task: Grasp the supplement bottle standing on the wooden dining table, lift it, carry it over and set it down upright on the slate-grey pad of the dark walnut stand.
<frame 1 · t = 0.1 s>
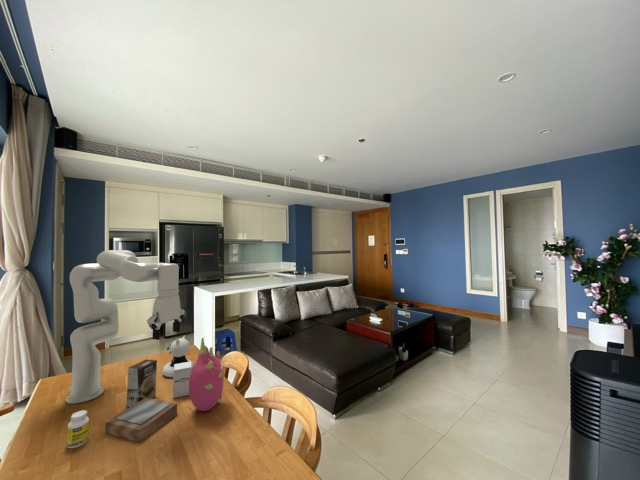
hand: (166, 335, 105), 31 cm above the table, tool pointing down, fingers open, 9 cm apart
walnut stand: (143, 422, 98), on the table
decorative figurine: (178, 372, 139), on the table
supplement box: (182, 393, 119), on the table
coffee box: (141, 401, 112), on the table
pink dragon fruit: (206, 409, 107), on the table
supplement bottle: (77, 443, 88), on the table
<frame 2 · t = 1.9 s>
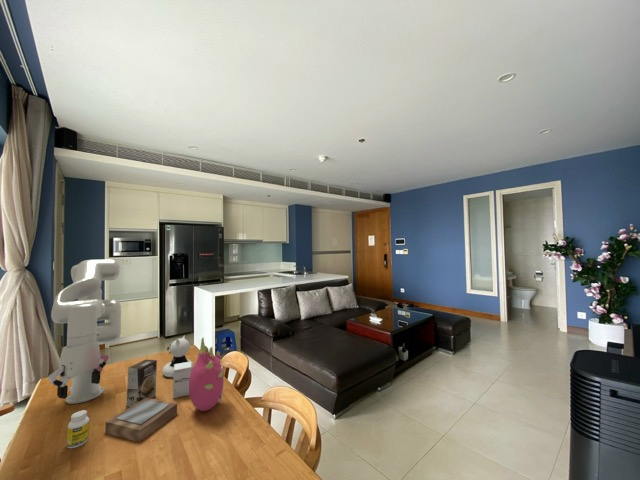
hand: (79, 390, 88), 18 cm above the table, tool pointing down, fingers open, 9 cm apart
nothing on the table moved.
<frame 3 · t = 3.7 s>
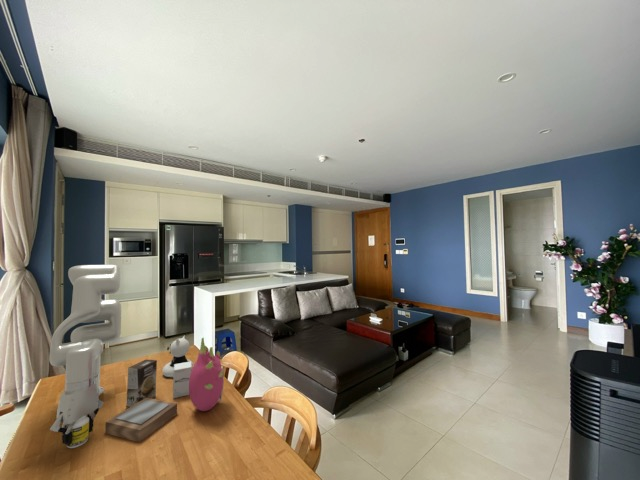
hand: (78, 436, 88), 2 cm above the table, tool pointing down, fingers closed on supplement bottle, 5 cm apart
supplement bottle: (77, 443, 88), on the table, touching gripper
everything else where it was.
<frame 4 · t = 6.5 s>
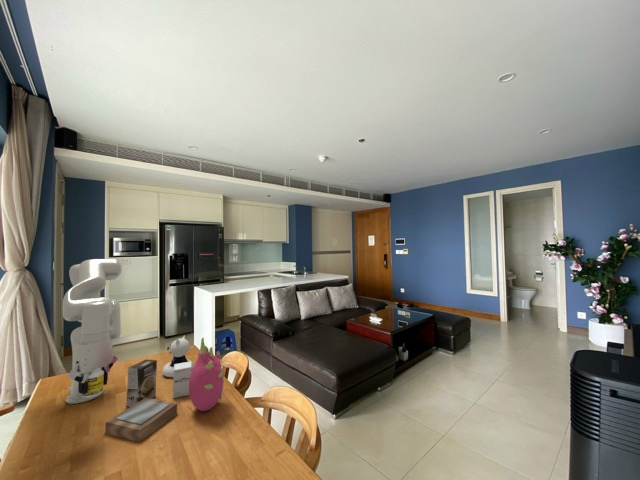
hand: (93, 388, 91), 17 cm above the table, tool pointing down, fingers closed on supplement bottle, 5 cm apart
supplement bottle: (93, 394, 90), point 15 cm above the table, touching gripper
everything else where it was.
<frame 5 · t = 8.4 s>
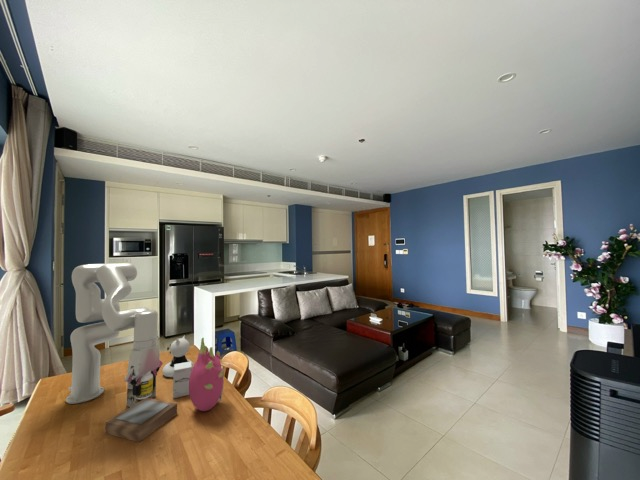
hand: (144, 390, 99), 12 cm above the table, tool pointing down, fingers closed on supplement bottle, 5 cm apart
supplement bottle: (144, 396, 98), point 10 cm above the table, touching gripper
everything else where it was.
when the fingers open (8 cm above the table, at t = 9.6 s): supplement bottle drops 1 cm, resting on walnut stand.
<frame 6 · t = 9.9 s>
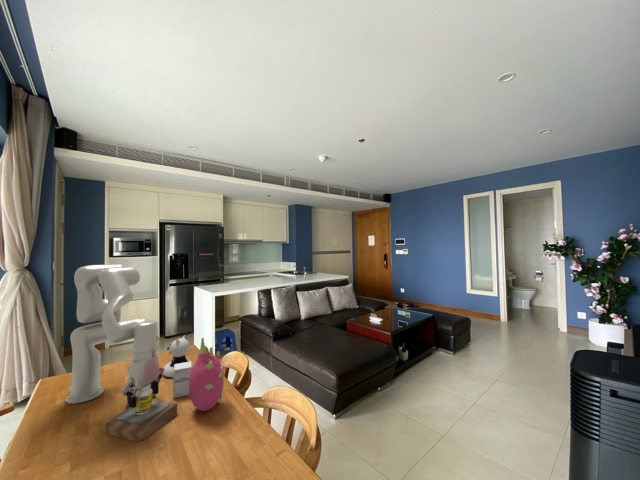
hand: (143, 399, 98), 9 cm above the table, tool pointing down, fingers open, 8 cm apart
supplement bottle: (143, 411, 98), point 4 cm above the table, touching walnut stand
everything else where it was.
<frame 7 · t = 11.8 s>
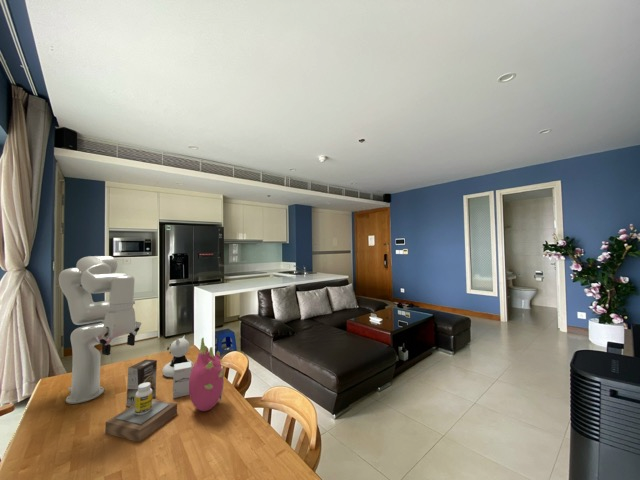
hand: (119, 349, 102), 26 cm above the table, tool pointing down, fingers open, 9 cm apart
nothing on the table moved.
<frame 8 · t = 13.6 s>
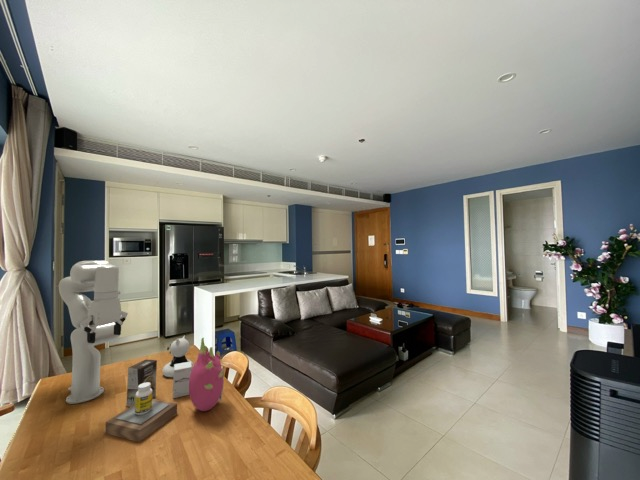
hand: (104, 338, 104), 30 cm above the table, tool pointing down, fingers open, 9 cm apart
nothing on the table moved.
at the end: supplement bottle inside the target area on the walnut stand (0.2 cm from its centre), point 4.2 cm above the walnut stand's base; supplement bottle tilted 0°; the gripper is holding nothing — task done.
